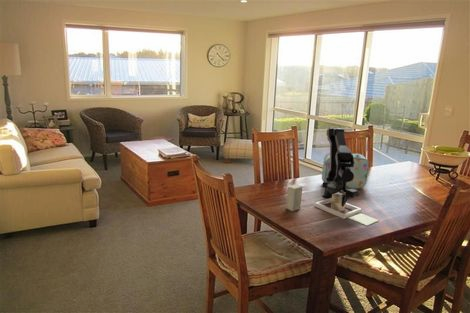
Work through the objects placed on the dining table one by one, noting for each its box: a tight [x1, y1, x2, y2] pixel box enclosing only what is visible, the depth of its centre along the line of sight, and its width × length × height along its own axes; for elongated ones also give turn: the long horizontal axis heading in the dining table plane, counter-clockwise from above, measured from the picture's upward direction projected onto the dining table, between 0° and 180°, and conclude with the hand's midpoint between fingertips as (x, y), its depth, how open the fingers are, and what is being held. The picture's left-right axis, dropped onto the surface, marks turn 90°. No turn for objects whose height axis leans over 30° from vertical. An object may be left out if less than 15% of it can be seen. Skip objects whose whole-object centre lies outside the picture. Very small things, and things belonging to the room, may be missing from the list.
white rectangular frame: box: [314, 198, 363, 220], centre depth 184 cm, size 18×14×2 cm
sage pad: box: [347, 212, 380, 227], centre depth 172 cm, size 10×10×1 cm
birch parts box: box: [330, 191, 347, 212], centre depth 183 cm, size 5×5×8 cm
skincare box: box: [286, 183, 303, 212], centre depth 181 cm, size 6×4×12 cm
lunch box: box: [321, 152, 370, 190], centre depth 217 cm, size 27×10×21 cm, turn 89°
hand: (338, 204), depth 183 cm, fingers closed on birch parts box, 5 cm apart
